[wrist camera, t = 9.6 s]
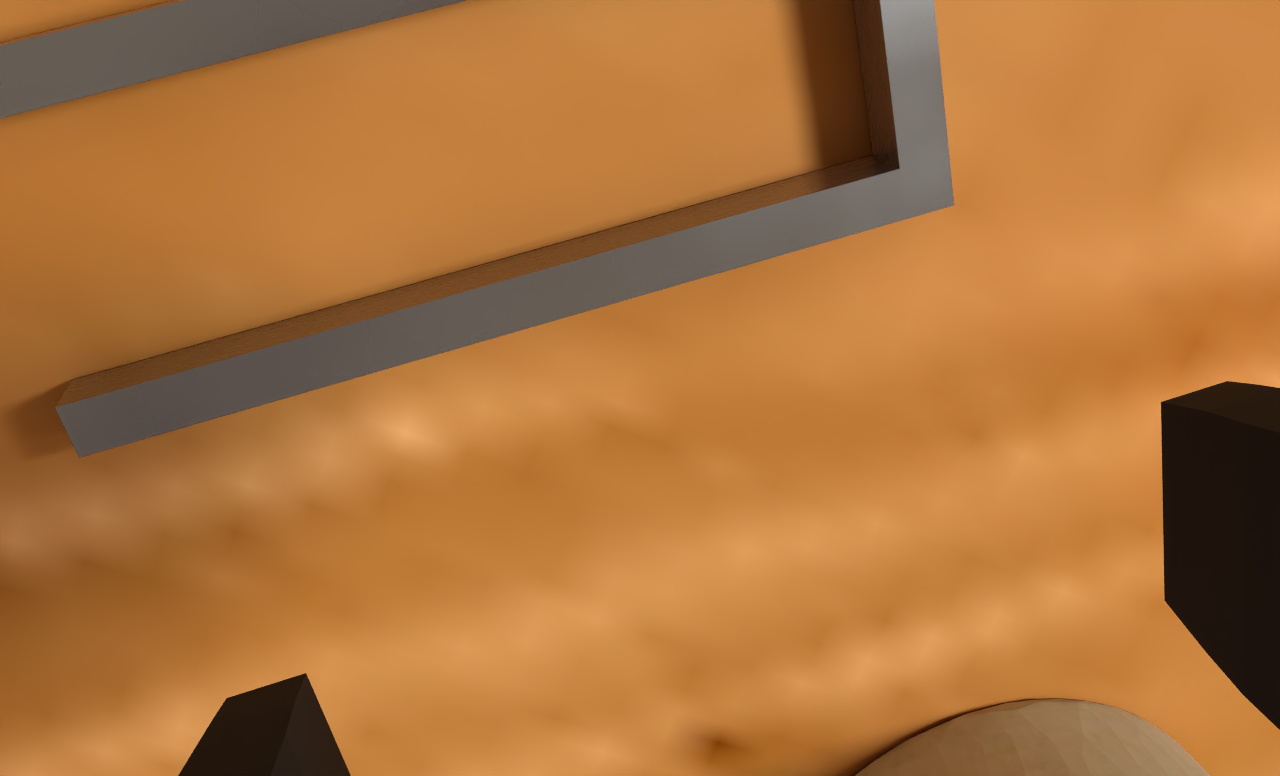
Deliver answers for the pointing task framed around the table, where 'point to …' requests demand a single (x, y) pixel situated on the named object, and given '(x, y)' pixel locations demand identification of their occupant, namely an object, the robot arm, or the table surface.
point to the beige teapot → (1040, 744)
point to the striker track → (487, 294)
